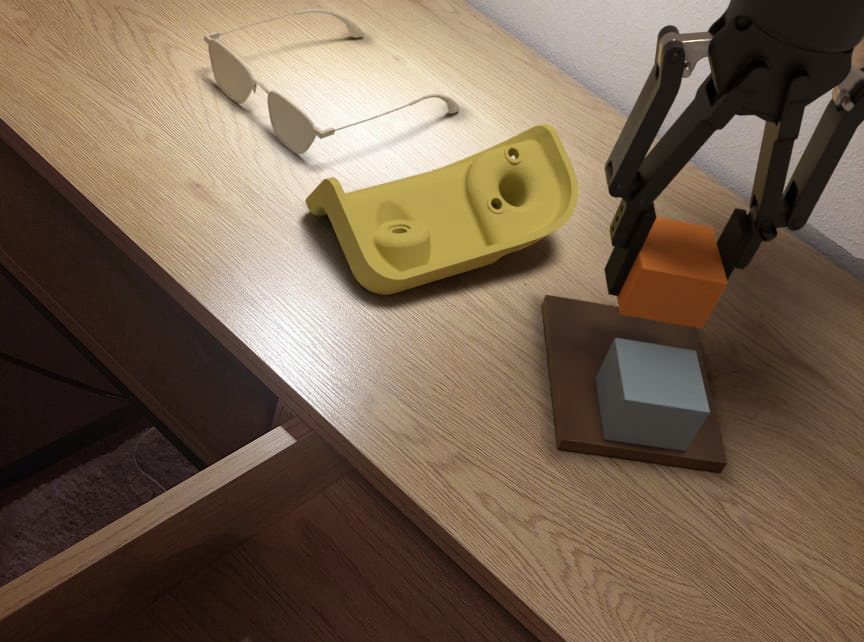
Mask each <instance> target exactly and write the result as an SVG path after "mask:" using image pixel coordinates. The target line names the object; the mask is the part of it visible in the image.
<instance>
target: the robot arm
mask: <svg viewBox="0 0 864 642" xmlns="http://www.w3.org/2000/svg"><path fill="white" fill-rule="evenodd" d="M863 39H864V0H730V1H729V3H728V6H727V8H726V9H725V11H724V12H723V13H722V14H721V16H719V17H718V18H717V19H716V20H714V22H713V23H712V24H711V25H710V26H709V27H708V30H707V31H700V32H699V31H697V32H684V33H680V30H679V29H678V27H677V26H675V25H672V24H668V25H665V26H663V27H662V28H661V29H660V30H659V31H658V34H657V39H656V47H655V55H654V64H653V66H652V68H651V70H650V71H649V74H648V76H647V79H646V80H645V83H644V85H643V86H642V89H641V91H640V93H639V95H638V97H637V99H636V101H635V103H634V105H633V107H632V109H631V111H630V113H629V115H628V116H627V119H626V122H625V124H624V125H623V126H622V129H621V132H620V133H619V135H618V137H617V139H616V142H615V143H614V146H613V148H612V150H611V152H610V153H609V156H608V158H607V160H606V161H605V164H604V174H605V180H606V185H607V190H608V194H609V195H610V197H612V198H614V199H615V198H616V199H618V198H619V199H621V200H620V203H619V204H618V206H617V209H616V211H615V214H614V216H613V219H612V221H611V223H610V225H609V235H610V240H611V246H612V247H613V248H612V251H611V253H610V255H609V258H608V260H607V263H606V265H605V267H604V269H603V270H604V275H605V276H604V278H605V281H606V289H607V294H608V295H609V296H615V297H617V296H619V294H620V292H621V289H622V287H623V285H624V283H625V281H626V279H627V277H628V275H629V273H630V271H631V268H632V266H633V264H634V262H635V260H636V258H637V256H638V254H639V252H640V251H641V249H642V247H643V245H644V243H645V241H646V239H647V236H648V234H649V232H650V230H651V228H652V226H653V224H654V222H655V220H656V218H657V217H658V215H657V213H656V208H655V203H654V202H655V201H656V200H657V198H658V197H659V196H660V195H661V194H662V193H663V191H664V190H666V188H668V186H669V185H670V183H671V182H672V181H673V180H674V179H675V178H676V177H677V176H678V175H679V173H680V172H681V171H682V170H683V169H684V167H685V166H686V165H687V164H689V162H690V161H691V159H693V157H694V156H695V155H696V154H697V153H698V151H700V149H701V148H702V147H703V146H704V145H705V144H706V142H707V141H708V140H709V139H710V138H711V137H712V136H713V135H714V133H715V132H716V131H720V130H723V129H724V128H725V127H726V126H727V125H728V124H729V123H730V122H731V121H732V119H734V117H735V116H739V117H742V116H744V117H745V116H746V117H747V116H755V117H757V118H759V119H761V120H763V121H765V123H764V127H763V134H762V138H761V144H760V149H759V153H758V159H757V164H756V169H755V174H754V179H753V184H752V190H751V195H750V199H749V204H748V207H749V211H748V213H747V210H746V209H742V208H738V207H735V208H734V209H733V211H732V213H731V215H730V216H729V219H728V221H727V222H726V224H725V225H724V228H723V229H722V232H721V233H720V235H719V237H718V238H717V240H716V241H717V245H718V249H719V253H720V256H721V260H722V264H723V267H724V271H725V274H726V278H727V282H728V281H729V279H730V278H731V275H732V274H733V272H734V271H735V269H737V270H745V269H746V268H747V267H748V266H749V265H750V264H751V263H752V260H753V259H754V257H755V256H756V254H757V252H758V250H759V248H760V247H761V246H762V243H763V242H764V243H767V242H771V241H773V240H775V239H776V237H778V235H779V232H778V230H777V229H781V228H787V229H788V230H789V231H790V232H791V231H792V232H797V231H799V230H802V229H803V228H804V227H805V226H806V224H807V223H808V221H809V219H810V217H811V215H812V213H813V211H814V210H815V207H816V206H817V204H818V202H819V200H820V199H821V196H822V194H823V193H824V191H825V189H826V187H827V185H828V183H829V181H830V180H831V177H832V176H833V174H834V172H835V170H836V169H837V166H838V165H839V162H840V161H841V159H842V157H843V155H844V153H845V151H846V149H847V148H848V146H849V144H850V142H851V140H852V138H853V136H854V135H855V133H856V131H857V129H858V127H859V126H860V125H862V123H863V122H864V66H863V67H860V68H858V67H857V66H854V65H853V53H854V50H855V48H856V47H857V46H858V45H859V44H860V43H861V42H862V41H863ZM704 58H707V59H708V64H709V69H710V73H709V74H708V76H707V77H706V78H705V79H704V80H703V81H702V83H701V84H700V85H699V86H698V88H697V90H696V92H695V95H694V99H692V100H691V102H690V103H689V104H688V105H687V107H685V109H684V110H683V112H681V114H680V115H679V116H678V117H677V119H675V121H674V122H673V124H671V126H670V127H669V128H668V130H667V131H665V133H664V134H663V135H662V136H661V138H660V139H658V141H657V142H656V144H655V145H654V146H653V148H652V149H651V147H652V145H653V143H654V141H655V138H656V137H657V135H658V133H659V131H660V130H661V128H662V125H663V123H664V122H665V120H666V117H667V116H668V114H669V112H670V110H671V108H672V106H673V104H674V102H675V100H676V98H677V96H678V95H679V91H680V88H681V85H682V81H683V79H688V78H689V77H691V75H692V72H693V71H694V69H695V68H696V66H697V63H698V62H699V61H700V60H702V59H704ZM830 91H831V99H830V100H829V102H828V104H827V105H826V107H825V109H824V111H823V113H822V115H821V117H820V118H819V121H818V123H817V125H816V126H815V129H814V131H813V133H812V135H811V136H810V139H809V140H808V142H807V145H806V147H805V149H804V150H803V152H802V155H801V157H800V158H799V161H798V163H797V165H796V167H795V168H794V171H793V172H792V174H791V176H790V178H789V181H788V183H787V185H786V180H787V178H788V173H789V168H790V163H791V159H792V154H793V149H794V145H795V142H796V140H798V138H799V136H800V131H801V127H802V121H803V119H804V114H805V109H806V107H807V106H808V105H811V104H812V103H813V102H815V101H816V100H818V99H819V98H821V97H822V96H824V95H825V94H827V93H829V92H830ZM650 149H651V150H650ZM649 150H650V151H649ZM785 186H786V187H785Z"/></svg>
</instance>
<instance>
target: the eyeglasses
mask: <svg viewBox="0 0 864 642" xmlns="http://www.w3.org/2000/svg"><path fill="white" fill-rule="evenodd" d="M308 13H321V14H327V15H330V16H332V17H334V18H336V19H338V20H339V21H341V22H342V23H343V24H344V25H345V26H346V29H347V31H348V33H349V35H350V37H352V38H357V39H358V38H361V37H364V36H365V32H364V30H363V29H362V28H361V27H360V26H359V25H358V24H357V23H355V22H354V21H353V20H351V19H349V18H348V17H346V16H344V15H342V14H339V13H338V12H334V11H332V10H328V9H319V8H315V9H314V8H313V9H311V8H310V9H304V10H298V11H295V12H293V13H288V14H284V15H280V16H279V15H278V16H276V17H272V18H269V19H263V20H261V21H257V22H254V23H250V24H246V25H244V26H240V27H237V28H236V27H235V28H233V29H231V30H227V31H223V32H219V31H218V30H217V31H214V32H211V33H207V34H204V35H203V37H204V38H203V41H204V42H205V43H206V44H207V46H208V48H207V49H208V50H207V51H208V54H209V55H208V56H209V60H210V64H211V66H210V67H211V69H212V75H213V77H214V80H215V82H216V84H217V86H218V87H219V88H220V90H221V91H222V92H223V93H224V94H225V95H226V96H227V97H228V98H229V99H231V100H232V101H234V102H235V103H237V104H240V105H241V104H244V103H245V102H246V101H247V100H248V99H249V97H251V94H252V92H253V95H256V92H257V87H258V86H259V87H260V88H261V89H262V90H263V91H264V92H265V93H266V94H267V111H268V116H269V121H270V124H271V128H272V131H273V133H274V135H275V136H276V138H277V139H278V140H279V141H280V142H281V143H282V144H283V145H284V146H285V148H287V149H288V150H290V151H291V152H292V153H295V154H297V155H303V154H305V153H306V152H307V151H308V150H309V149H310V148H311V146H312V145H313V144H314V142H315V140H316V137H317V138H319V139H320V140H322V139H325V138H328V137H331V136H334V135H335V132H338V131H340V130H343V129H347V128H349V127H353V126H356V125H359V124H362V123H365V122H368V121H372V120H374V119H377V118H380V117H382V116H385V115H387V114H390V113H394V112H396V111H400V110H402V109H404V108H406V107H409V106H413V105H415V104H417V103H419V102H422V101H424V100H426V99H427V100H428V99H432V98H436V99H440V100H442V101H443V102H445V104H446V107H447V111H448V113H449V114H450V115H453V114H454V113H455V114H456V113H457V112H459V111H460V110H461V106H460V104H459V103H458V102H457V101H456V100H455V99H453V98H452V97H450V96H447V95H444V94H441V93H440V94H439V93H431V94H426V95H423V96H422V97H419V98H417V99H415V100H412V101H410V102H409V103H407V104H405V105H403V106H400V107H398V108H394V109H391V110H389V111H387V112H386V111H385V112H384V113H381V114H378V115H376V116H373V117H369V118H367V119H364V120H360V121H357V122H354V123H351V124H348V125H344V126H341V127H338V128H334V127H329V128H326V129H324V130H321V129H320V128H319V127H317V126H315V123H314V121H313V120H312V119H311V117H309V115H308V114H307V113H306V112H304V111H303V110H302V109H301V108H300V107H299V106H297V105H296V104H295V103H294V102H293V101H291V100H290V99H289V98H287V97H286V96H284V95H283V94H282V93H280V92H279V91H277V90H269V88H268V87H267V86H266V85H265V84H264V83H263V82H261V81H259V80H257V79H256V78H254V76H253V74H252V71H251V70H250V68H249V67H248V66H247V65H246V63H245V62H243V60H241V59H240V58H239V56H237V55H236V54H235V53H234V52H233V51H232V50H231V49H229V48H228V47H227V46H226V45H225V44H223V42H221V41H219V40H218V39H220V37H221V36H223V35H226V34H228V33H229V34H230V33H233V32H235V31H238V30H243V29H246V28H248V27H251V26H255V25H259V24H262V23H267V22H270V21H274V20H278V19H281V18H285V17H290V16H294V15H295V16H298V15H303V14H308Z"/></svg>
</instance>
